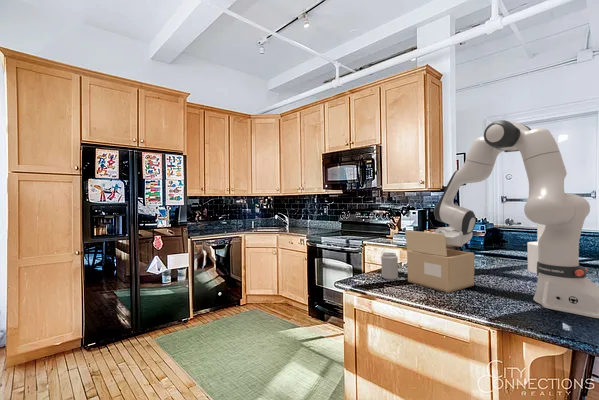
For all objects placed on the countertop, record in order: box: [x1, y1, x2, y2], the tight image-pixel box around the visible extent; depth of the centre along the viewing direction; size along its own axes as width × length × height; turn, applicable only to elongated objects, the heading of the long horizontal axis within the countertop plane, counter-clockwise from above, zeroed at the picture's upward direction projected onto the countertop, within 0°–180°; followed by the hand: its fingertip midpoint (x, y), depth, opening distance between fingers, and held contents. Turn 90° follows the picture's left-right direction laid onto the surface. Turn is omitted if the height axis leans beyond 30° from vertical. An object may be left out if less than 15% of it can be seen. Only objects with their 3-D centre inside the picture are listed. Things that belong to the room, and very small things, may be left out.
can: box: [380, 252, 399, 281], centre depth 149 cm, size 8×8×12 cm
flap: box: [404, 229, 447, 256], centre depth 133 cm, size 19×9×1 cm
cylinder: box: [526, 223, 545, 274], centre depth 154 cm, size 17×17×28 cm
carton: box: [406, 248, 475, 293], centre depth 138 cm, size 21×19×14 cm
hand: (424, 239), depth 133 cm, fingers closed, pressing on flap
